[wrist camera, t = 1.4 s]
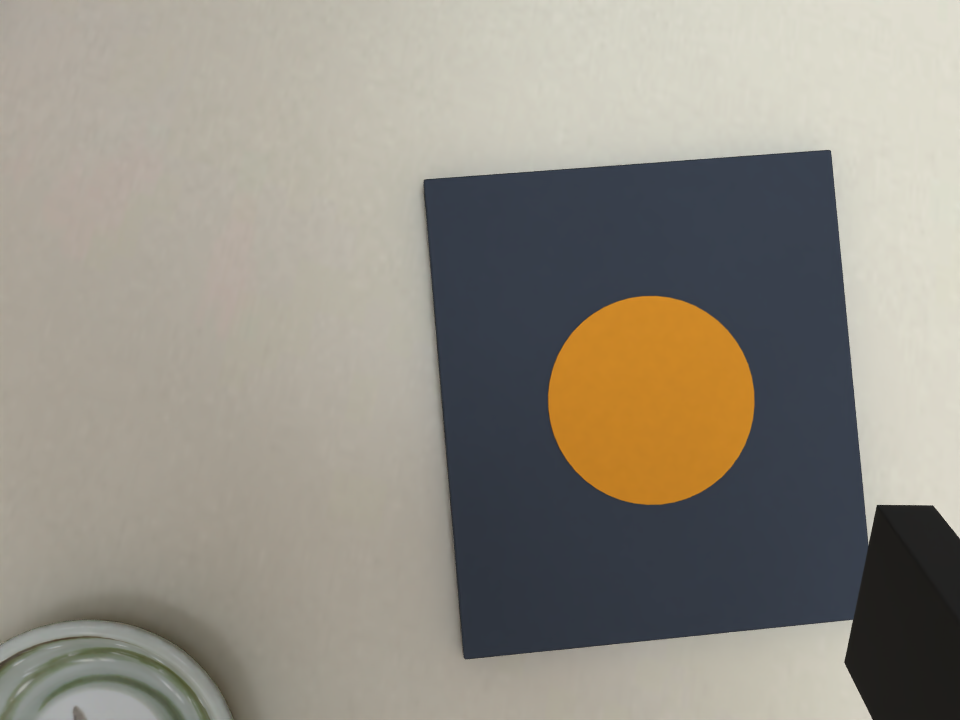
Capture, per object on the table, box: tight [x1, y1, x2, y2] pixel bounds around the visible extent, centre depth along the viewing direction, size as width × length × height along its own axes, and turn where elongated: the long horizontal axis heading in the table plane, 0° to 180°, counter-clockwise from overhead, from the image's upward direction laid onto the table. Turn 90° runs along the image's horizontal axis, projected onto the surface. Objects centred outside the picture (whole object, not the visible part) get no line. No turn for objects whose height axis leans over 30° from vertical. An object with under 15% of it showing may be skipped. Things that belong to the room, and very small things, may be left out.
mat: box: [424, 150, 868, 659], centre depth 31 cm, size 16×14×1 cm
